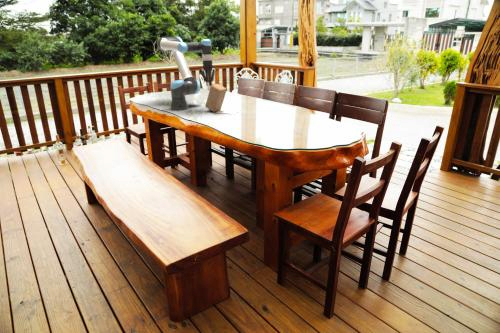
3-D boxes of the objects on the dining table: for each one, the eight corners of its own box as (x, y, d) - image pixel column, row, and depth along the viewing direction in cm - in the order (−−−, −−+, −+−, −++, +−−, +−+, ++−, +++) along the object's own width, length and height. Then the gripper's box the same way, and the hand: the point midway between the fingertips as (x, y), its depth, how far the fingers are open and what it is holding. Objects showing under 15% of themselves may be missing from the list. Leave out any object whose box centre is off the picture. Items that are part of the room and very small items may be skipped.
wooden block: (213, 112, 267) (220, 90, 256) (204, 106, 269) (210, 84, 259) (220, 110, 275) (227, 88, 264) (211, 104, 277) (218, 83, 267)
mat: (215, 112, 266) (215, 112, 266) (222, 109, 278) (222, 108, 278) (234, 113, 261) (234, 113, 261) (240, 110, 273) (240, 109, 273)
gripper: (197, 60, 258) (200, 90, 266) (212, 60, 254) (214, 91, 262) (202, 59, 264) (204, 89, 273) (216, 59, 261) (218, 89, 269)
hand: (209, 90), depth 268 cm, fingers closed
